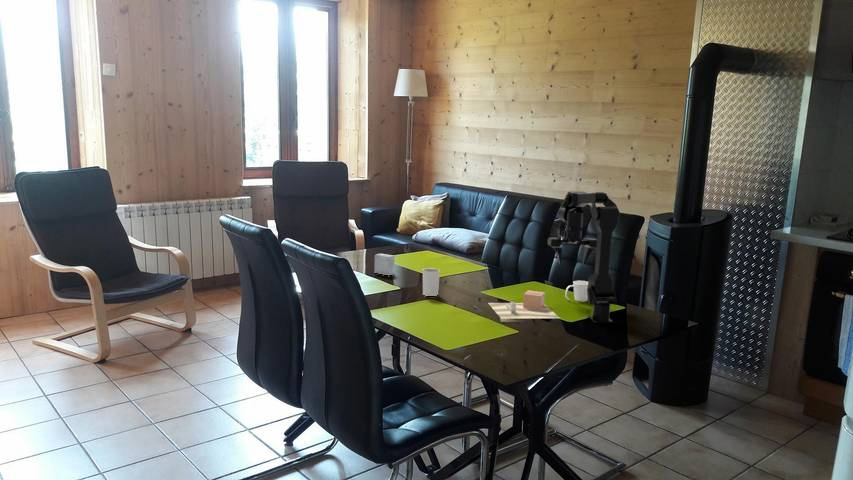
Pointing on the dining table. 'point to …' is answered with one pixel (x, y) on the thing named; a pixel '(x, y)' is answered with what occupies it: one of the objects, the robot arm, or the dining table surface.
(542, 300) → the pink block
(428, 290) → the drinking glass
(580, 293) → the cup
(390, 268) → the medicine box
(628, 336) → the dining table surface
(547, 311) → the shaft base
